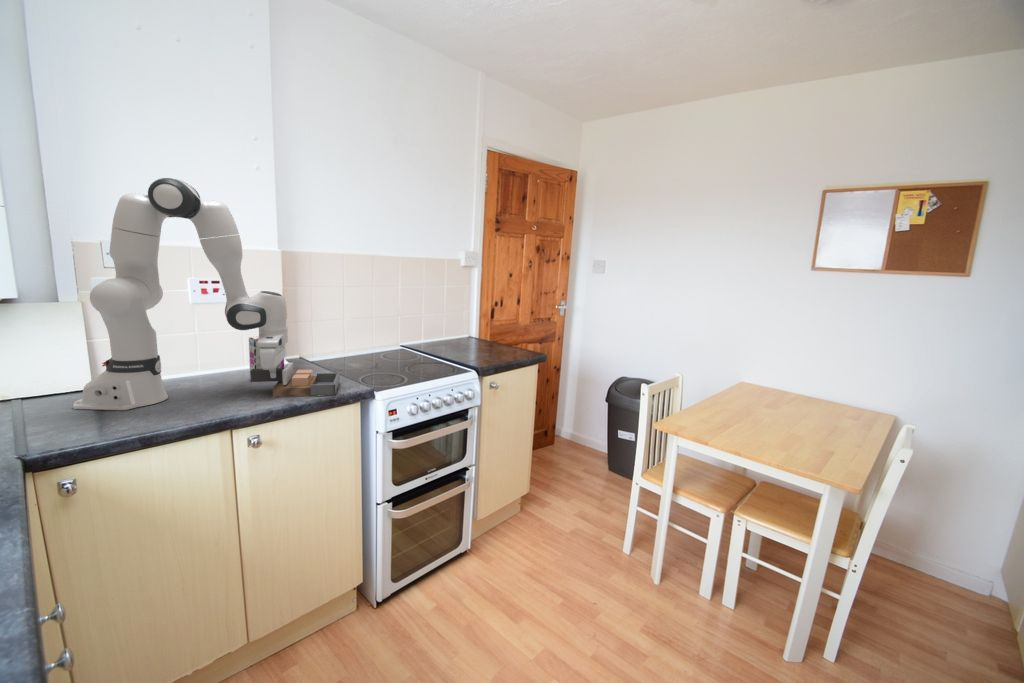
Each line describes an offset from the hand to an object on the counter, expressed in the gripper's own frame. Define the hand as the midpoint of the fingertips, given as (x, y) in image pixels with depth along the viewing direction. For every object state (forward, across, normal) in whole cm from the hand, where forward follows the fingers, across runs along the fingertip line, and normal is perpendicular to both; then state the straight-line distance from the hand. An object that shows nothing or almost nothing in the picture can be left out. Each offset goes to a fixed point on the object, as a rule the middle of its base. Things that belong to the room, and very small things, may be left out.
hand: (275, 375), depth 158 cm
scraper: (+2, 0, -2) cm, 2 cm away
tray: (+5, 0, +17) cm, 18 cm away
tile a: (+2, +3, +9) cm, 10 cm away
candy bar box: (+6, -17, -6) cm, 19 cm away
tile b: (+2, -3, +9) cm, 10 cm away
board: (+5, 0, +7) cm, 9 cm away
